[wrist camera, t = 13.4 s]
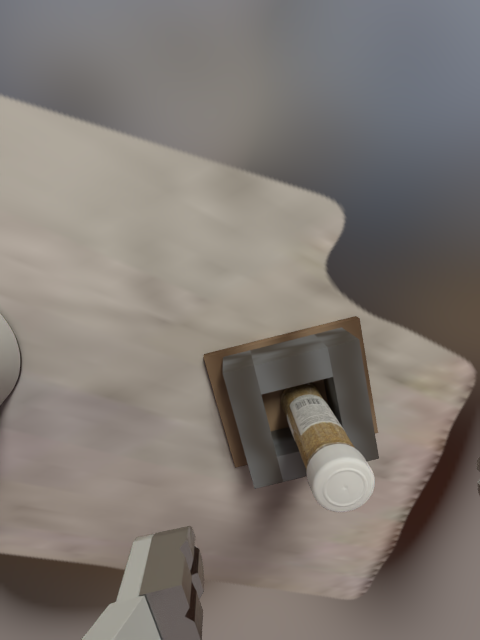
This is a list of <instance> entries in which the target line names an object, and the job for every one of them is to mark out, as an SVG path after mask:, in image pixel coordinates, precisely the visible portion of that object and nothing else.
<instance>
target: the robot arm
mask: <svg viewBox="0 0 480 640" xmlns="http://www.w3.org/2000/svg"><path fill="white" fill-rule="evenodd" d="M19 371H20V352H19V347H18V344H17V340H16V338H15V335H14V333H13V331H12V329H11V328H10V326H9V324H8V323H7V322H6V320H5V319H4V318H3V316H2V315H1V314H0V405H1V404H2V402H3V401H4V400H5V399H6V398H7V396H8V395H9V394H10V393H11V391H12V390H13V388H14V386H15V384H16V382H17V379H18V376H19ZM477 470H478V471H479V472H480V457H479V458H478V459H477ZM478 493H479V495H480V479H479V481H478ZM194 545H195V535H194V532H193V529H192V527H191V526H187V527H182V528H178V529H173V530H168V531H163V532H159V533H155V534H151V535H146V536H141V537H137V538H136V539H135V541H134V542H133V545H132V548H131V552H130V555H129V558H128V562H127V565H126V569H125V572H124V576H123V579H122V582H121V586H120V589H119V593H118V597H117V599H116V602H114V603H111V604H109V605H108V607H107V608H106V609H105V611H104V612H103V613H102V614H101V616H100V617H99V618H98V619H97V620H96V622H95V623H94V624H93V626H92V627H91V628H90V629H89V631H88V632H87V633H86V635H85V636H84V637H83V638H82V639H81V640H202V620H203V609H202V606H201V603H200V601H199V599H200V597H201V595H202V594H203V592H204V570H203V562H202V557H201V554H200V550H199V549H198V548H197V547H195V546H194Z"/></svg>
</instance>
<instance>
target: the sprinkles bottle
mask: <svg viewBox="0 0 480 640" xmlns="http://www.w3.org/2000/svg"><path fill="white" fill-rule="evenodd" d="M281 406H282V409H283V411H284V412H285V414H286V417H287V421H288V424H289V427H290V430H291V432H292V435H293V438H294V440H295V441H296V444H297V446H298V449H299V452H300V454H301V457H302V460H303V462H304V465H305V467H306V471H307V473H306V474H307V480H308V483H309V486H310V488H311V491H312V493H313V495H314V498H315V499H316V501H317V502H318V503H319V504H320V505H321V506H322V507H324V508H325V509H328V510H330V511H333V512H348V511H352V510H354V509H357V508H359V507H360V506H362V505H363V504H364V503H365V502H366V501H367V500H368V499H369V498H370V496H371V495H372V493H373V490H374V485H375V478H374V474H373V472H372V469H371V468H370V466H369V465H368V463H367V461H366V460H365V458H364V457H363V455H362V454H361V453H360V452H359V451H358V450H357V449H355V447H354V446H353V444H352V443H351V441H350V439H349V438H348V436H347V434H346V432H345V430H344V429H343V427H342V426H341V424H340V423H339V421H338V420H337V418H336V417H335V415H334V414H333V412H332V411H331V409H330V407H329V406H328V404H327V403H326V402H325V401H324V399H323V398H322V396H321V394H320V392H319V390H318V389H317V387H316V386H315V385H313V384H312V383H306V384H302V385H298V386H294V387H290V388H286V389H285V390H284V392H283V394H282V396H281Z"/></svg>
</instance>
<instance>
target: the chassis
mask: <svg viewBox="0 0 480 640" xmlns="http://www.w3.org/2000/svg"><path fill="white" fill-rule="evenodd" d="M204 361H205V364H206V368H207V371H208V375H209V378H210V382H211V385H212V388H213V392H214V395H215V399H216V402H217V406H218V409H219V413H220V416H221V420H222V423H223V426H224V430H225V433H226V437H227V440H228V444H229V447H230V451H231V454H232V457H233V461H234V464H235V468H236V467H240V466H244V465H248V467H249V470H250V474H251V477H252V481H253V485H254V488H255V489H256V488H260V487H264V486H268V485H272V484H276V483H281V482H285V481H289V480H293V479H297V478H301V477H305V476H307V474H306V473H307V471H306V467H305V465H304V462H303V460H302V457H301V454H300V452H299V449H298V446H297V444H296V441H295V440H294V438H293V435H292V432H291V430H290V427H289V424H288V421H287V417H286V414H285V412H284V411H283V409H282V406H281V396H282V394H283V392H284V390H285V389H286V388H290V387H294V386H298V385H302V384H306V383H312V384H313V385H315V386H316V387H317V389H318V390H319V392H320V394H321V396H322V398H323V399H324V401H325V402H326V403H327V404H328V406H329V407H330V409H331V411H332V412H333V414H334V415H335V417H336V418H337V420H338V421H339V423H340V424H341V426H342V427H343V429H344V430H345V432H346V434H347V436H348V438H349V439H350V441H351V443H352V444H353V446H354V447H355V449H357V450H358V451H359V452H360V453H361V454H362V455H363V457H364V458H365V460H366V461H370V460H375V459H379V456H378V450H377V444H376V438H375V433H378V430H377V424H376V417H375V411H374V405H373V399H372V393H371V387H370V380H369V374H368V368H367V362H366V356H365V349H364V343H363V337H362V331H361V325H360V319H359V318H358V317H356V316H355V317H351V318H347V319H343V320H339V321H335V322H331V323H327V324H323V325H319V326H315V327H311V328H307V329H303V330H299V331H295V332H291V333H287V334H283V335H279V336H275V337H271V338H267V339H263V340H259V341H255V342H251V343H247V344H243V345H239V346H235V347H231V348H227V349H223V350H219V351H215V352H211V353H207V354H204Z"/></svg>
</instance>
